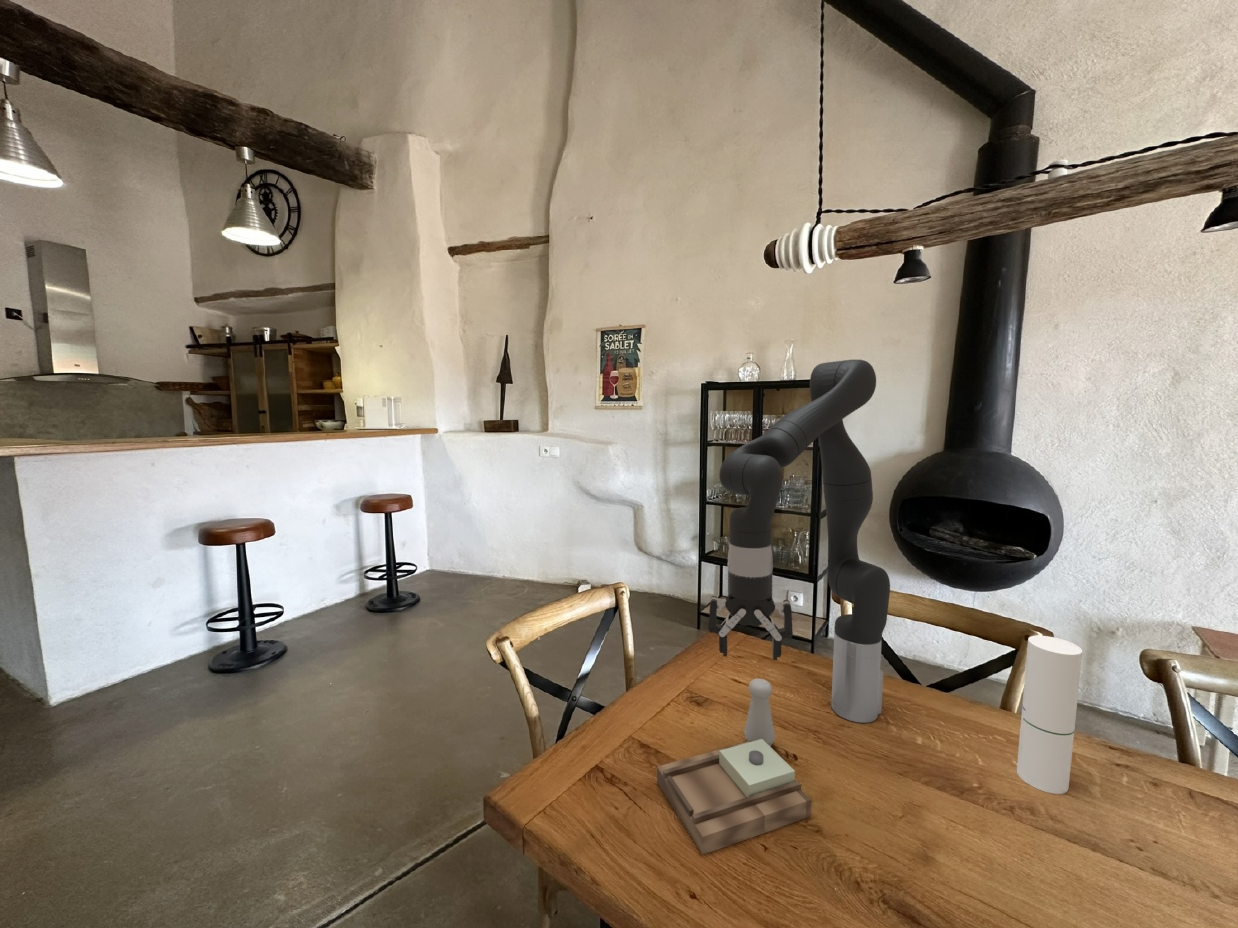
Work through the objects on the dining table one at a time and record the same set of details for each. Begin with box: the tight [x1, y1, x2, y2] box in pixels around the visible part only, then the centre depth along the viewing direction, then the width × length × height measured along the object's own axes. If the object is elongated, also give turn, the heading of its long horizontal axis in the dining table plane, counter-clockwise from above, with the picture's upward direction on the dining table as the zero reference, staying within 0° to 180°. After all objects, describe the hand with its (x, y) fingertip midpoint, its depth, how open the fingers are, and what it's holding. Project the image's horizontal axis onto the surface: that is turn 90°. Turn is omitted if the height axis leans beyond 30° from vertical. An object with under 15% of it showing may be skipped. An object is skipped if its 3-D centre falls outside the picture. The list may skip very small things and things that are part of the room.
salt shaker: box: [743, 678, 776, 748], centre depth 101 cm, size 6×6×13 cm
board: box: [656, 740, 812, 856], centre depth 88 cm, size 20×16×4 cm
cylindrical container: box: [1016, 635, 1083, 795], centre depth 91 cm, size 7×7×25 cm
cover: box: [719, 739, 796, 797], centre depth 89 cm, size 9×9×4 cm
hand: (749, 656), depth 92 cm, fingers open, 8 cm apart
